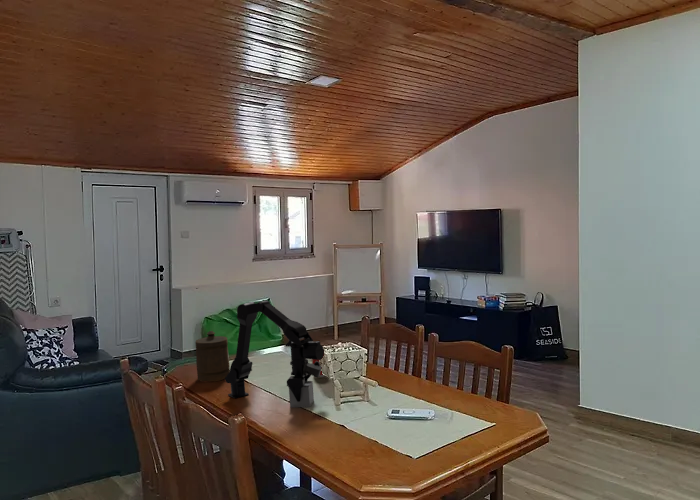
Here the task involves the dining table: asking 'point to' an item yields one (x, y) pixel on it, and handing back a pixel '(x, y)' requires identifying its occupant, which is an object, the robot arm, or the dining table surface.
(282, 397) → the dining table surface
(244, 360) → the robot arm
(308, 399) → the dark grey block
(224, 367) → the wooden container
